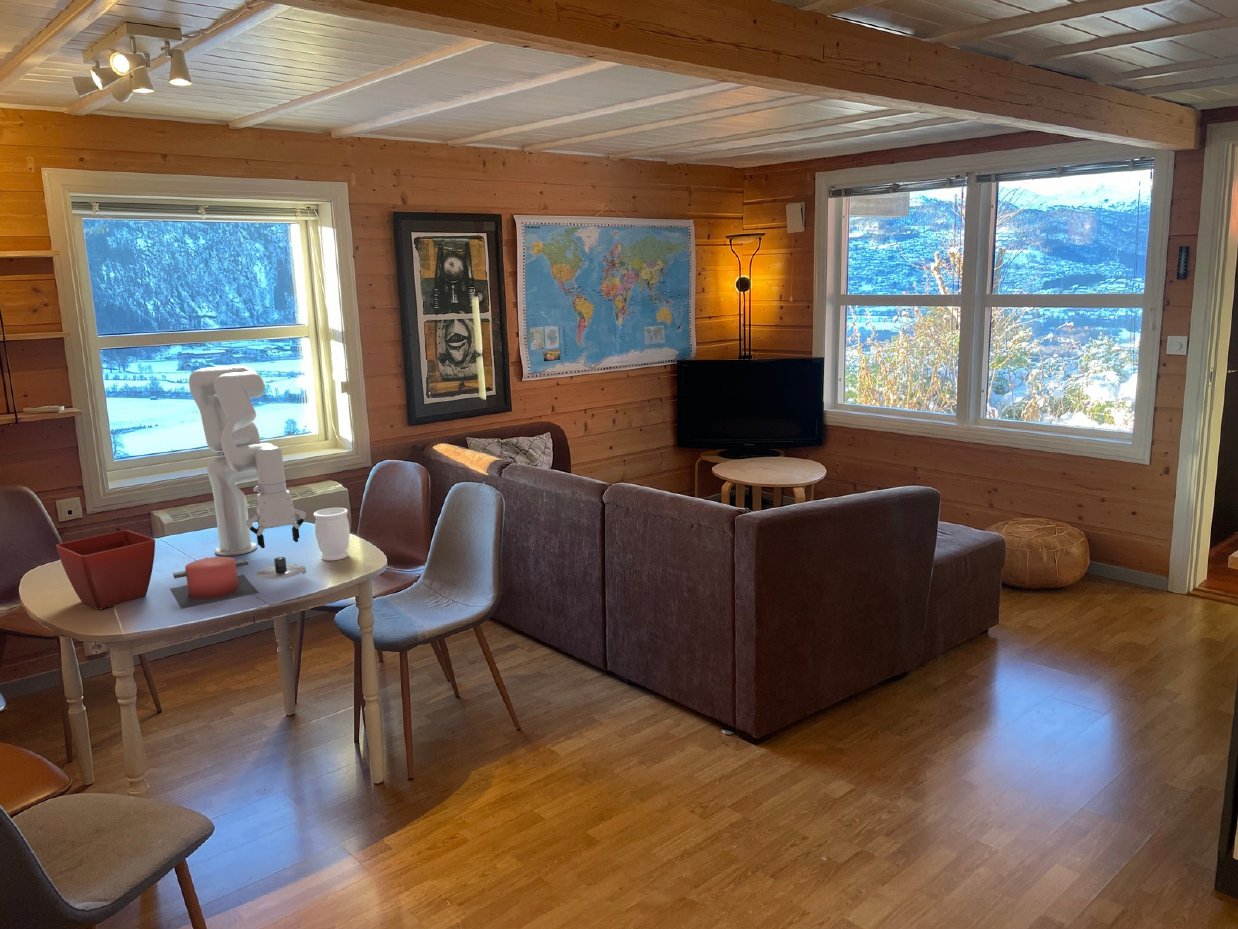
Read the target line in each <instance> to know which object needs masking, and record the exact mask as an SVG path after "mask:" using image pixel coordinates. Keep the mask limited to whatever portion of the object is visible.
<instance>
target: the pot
mask: <svg viewBox="0 0 1238 929" xmlns="http://www.w3.org/2000/svg"><path fill="white" fill-rule="evenodd" d="M248 565H249V562H248V560H247V559H242V560H237V561H236V559H235V558H234V557H230V556H214V557H213V556H212V557H205V558H200V559H197V560H193V561H192V562H189V563H187V564H186V565H185V566H184V568H185V569H184V570H183V571H181V570H180V571H178V572H177V571H176V572H172V576H173V578H174V579H179V578H180V579H181V578H185V577H186V584H187V585H188V593H189V596H190V597H192V598H197V599H208V598H216V597H221V596H225V595H228V594H231V593H233V592H235V591H236V590H237V589H238V588H239V587H238V578H237V576H238V572H237V571H238V570H237V568H239V567H244V566H248Z"/></svg>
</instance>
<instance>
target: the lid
mask: <svg viewBox="0 0 1238 929" xmlns="http://www.w3.org/2000/svg"><path fill="white" fill-rule="evenodd" d="M273 563H274V565H272V566H267V567H265V568H262V569H260V570H259V571H257V572H256V574H255V575H256V577H257V578H259V579H262V580H264V579H265V580H280V579H287V578H290V577H295V576H297V575H298V576H299V575H300V574H302V575H304V574H305V573H306V569H307V568H306V566H305V565H302V564H295V563H287V560H286V557H285V556H278V557H275V558H274V560H273Z"/></svg>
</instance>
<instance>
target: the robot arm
mask: <svg viewBox="0 0 1238 929" xmlns="http://www.w3.org/2000/svg"><path fill="white" fill-rule="evenodd" d="M188 386H189V390H190V395H191V396H192V398H193V401H194V403H195V404H196V406H197V408H198V410H199V413H200V418H201V421H202V422H201V423H202V427H203V431H204V437H205V440H206V444H207V447H208V448H209V450H210V451H212V452H214V453H222V452H223V455H221V456H218V457H217V456H216V457H215V458H212V459H211V460H210V461H209V462H208V463H207V467H206V470H207V471H206V472H207V475H208V479H209V482H210V486H211V489H212V496H213V501H214V510H215V517H216V519H215V520H216V525H217V533H218V541H219V542H218V543H219V545H218V546H217V547H215V549H214V552H215V554H216V555H218V556H223V557H230V556H237V555H242V554H247V553H250V552H253V551H255V550H257V545H258V546H259V547H260V548H261V549H265V548H266V544H265V537H264V535H263V532H264V530H266V529H273V528H280V527H286V526H289V525H290V526H292V528H291V534H292V541H294V542H295V543H299V539H300V531H299V530H300V527H301V526H302V524H304V522H305V521H304V520H305V518H306V516H307V513H306V512H305V511H303V510H299V509H297V508H295V507H294V504H293V503H294V501H293V498H292V494H291V492H290V490H287V485H286V476H285V468H284V459H283V458H284V457H283V452H282V449H281V447H280V446H276V445H274V444H272V443H271V442H270V443H269V442H262V443H261V438H260V434H259V429H258V428H257V425H256V424H255V422H254V421H255V419H256V417H257V413H256V410H255V407H254V406H253V403H252V400H251V399H256V398H261V397H262V396H264V393H265V383H264V380H263V378H262V376H260V374H259V373H258V372H257V371H255V370H254V369H252V368H250V367H247V366H245V365H238V364H237V365H229V366H228V365H227V366H214V367H203V368H200V369H197V370H194V371H193V372H191V374H190V375H189V379H188ZM254 481H257V485H256V486H254V487H253V492H258V494H257V496H256V514H255V515H253V516H252V517H250V518H249V513H248V502H247V498H246V497H247V496H246V494H245V493H244V492H243V491H242V489H240V488H239V487H238V486H237V485H238V484H243V483H244V484H245V483H248V482H254ZM296 515H298V516H299V517H298V519H297V518H296ZM256 521H257V524H258V526H257V527H254V525H253V524H254V523H256ZM251 532H252V533H253V534H255V535H256V541H257V543H255V542H254V541H253V542H252V538H251Z"/></svg>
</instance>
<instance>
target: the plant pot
mask: <svg viewBox="0 0 1238 929" xmlns="http://www.w3.org/2000/svg"><path fill="white" fill-rule="evenodd" d="M55 547H56V550H57V554H58V556H59V560H60V562H61V564H62V567H63V569H64V571H65V574H66V576H67V578H68V580H69V582H70V584H71V586H72V588H73V590H74V592H75V593H76V595H77V597H78V598H79V600H80V601H81V602H82V601H83V602H82V603H84V602H85V604H86V603H87V605H88V604H89V605H88V606H90V605H91V607H92V606H93V607H92V608H94V607H95V608H94V609H96V608H97V609H96V610H101V609H100V608H104V609H106V608H105V607H108V606H111V607H115V605H119V604H122V603H126V602H131V601H133V600H136V599H140V598H144V597H146V596H147V593H148V590H149V585H150V583H151V577H152V574H153V567H154V560H155V551H156V539H155V538H153V537H149V536H146V535H143V534H140V533H138V532H135V531H132V530H129V529H124V530H119V531H115V532H108V533H104V534H100V535H94V536H90V537H85V538H82V539H76V540H75V539H74V540H71V541H70V540H69V541H66V542H63V543H62V542H61V543H58V544H56V545H55ZM108 608H109V607H108Z"/></svg>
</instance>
